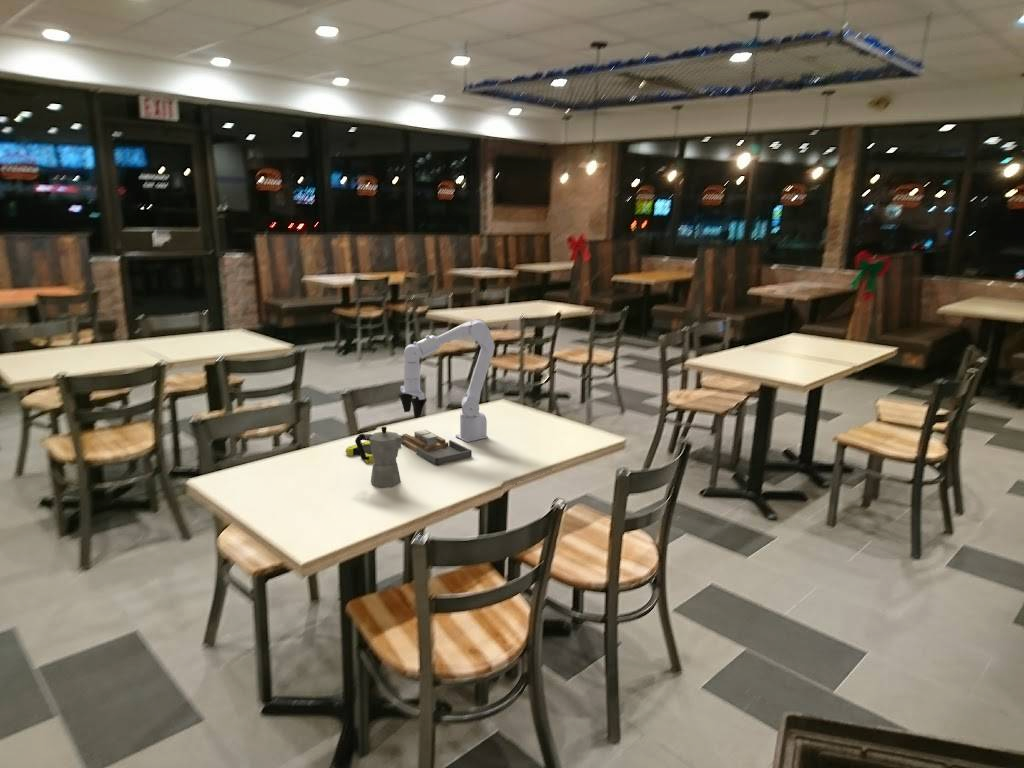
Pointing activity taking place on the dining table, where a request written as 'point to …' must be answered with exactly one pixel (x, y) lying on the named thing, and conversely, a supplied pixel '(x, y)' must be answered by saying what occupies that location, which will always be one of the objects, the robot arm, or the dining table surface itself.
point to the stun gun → (354, 451)
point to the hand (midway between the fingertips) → (412, 414)
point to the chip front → (429, 439)
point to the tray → (445, 453)
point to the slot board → (414, 443)
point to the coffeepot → (383, 457)
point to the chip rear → (420, 434)
